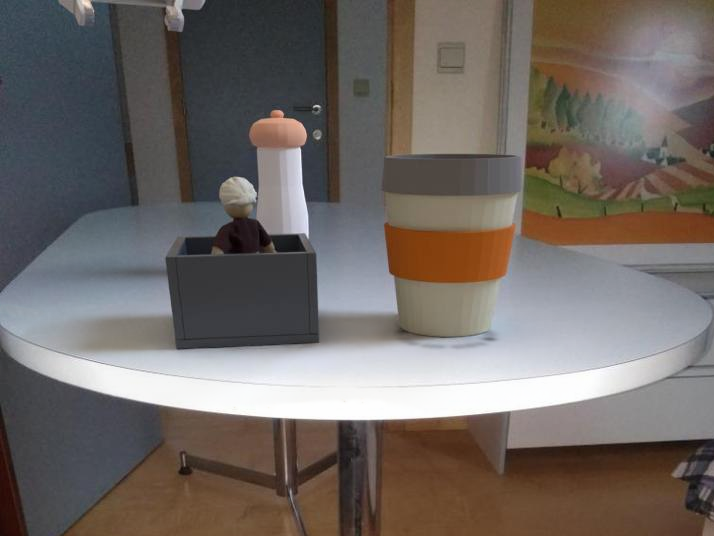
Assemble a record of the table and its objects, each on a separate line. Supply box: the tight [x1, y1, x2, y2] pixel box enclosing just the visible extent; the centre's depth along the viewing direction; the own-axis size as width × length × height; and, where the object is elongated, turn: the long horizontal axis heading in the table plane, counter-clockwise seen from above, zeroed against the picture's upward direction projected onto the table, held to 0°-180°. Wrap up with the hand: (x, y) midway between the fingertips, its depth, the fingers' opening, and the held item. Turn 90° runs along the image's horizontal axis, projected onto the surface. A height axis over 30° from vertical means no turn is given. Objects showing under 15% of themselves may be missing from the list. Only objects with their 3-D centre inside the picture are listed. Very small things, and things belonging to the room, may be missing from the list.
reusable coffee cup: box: [380, 153, 523, 338], centre depth 67 cm, size 13×13×15 cm
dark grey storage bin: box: [164, 233, 320, 350], centre depth 68 cm, size 13×13×8 cm
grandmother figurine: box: [211, 176, 277, 254], centre depth 66 cm, size 8×4×13 cm, turn 150°
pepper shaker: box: [248, 109, 309, 239], centre depth 92 cm, size 7×7×19 cm
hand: (133, 23), depth 76 cm, fingers open, 8 cm apart
